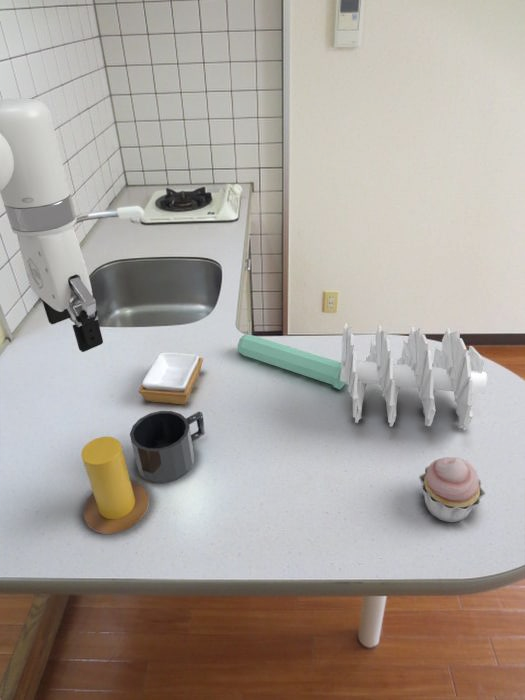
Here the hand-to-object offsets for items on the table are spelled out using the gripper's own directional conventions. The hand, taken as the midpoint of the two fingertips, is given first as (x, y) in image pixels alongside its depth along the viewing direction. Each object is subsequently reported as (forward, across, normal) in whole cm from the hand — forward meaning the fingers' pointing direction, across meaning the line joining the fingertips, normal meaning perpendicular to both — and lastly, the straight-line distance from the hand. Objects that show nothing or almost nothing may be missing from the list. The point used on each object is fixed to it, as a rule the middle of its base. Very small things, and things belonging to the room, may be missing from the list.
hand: (75, 333), depth 73 cm
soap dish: (+28, -13, +20) cm, 37 cm away
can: (+28, +6, -3) cm, 29 cm away
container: (+28, -1, +42) cm, 51 cm away
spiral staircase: (+28, +24, +48) cm, 61 cm away
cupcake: (+28, +41, +34) cm, 61 cm away
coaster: (+28, +6, -3) cm, 29 cm away
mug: (+28, +4, +10) cm, 30 cm away
